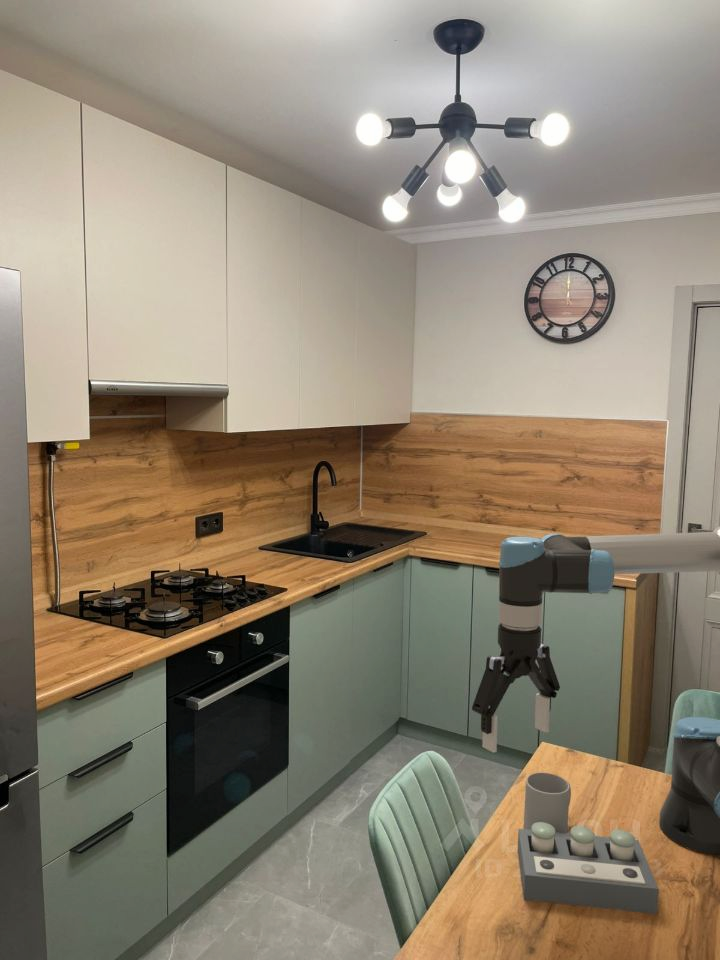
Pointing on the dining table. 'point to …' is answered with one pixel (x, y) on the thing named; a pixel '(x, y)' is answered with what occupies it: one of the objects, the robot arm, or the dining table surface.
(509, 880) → the dining table surface
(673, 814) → the robot arm
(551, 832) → the button
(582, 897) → the button board
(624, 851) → the button
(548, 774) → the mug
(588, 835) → the button mid
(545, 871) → the card
